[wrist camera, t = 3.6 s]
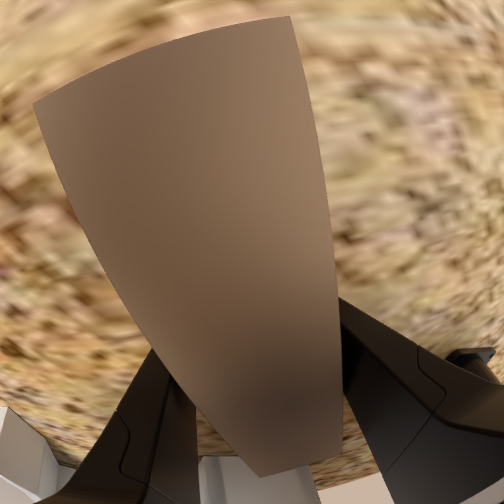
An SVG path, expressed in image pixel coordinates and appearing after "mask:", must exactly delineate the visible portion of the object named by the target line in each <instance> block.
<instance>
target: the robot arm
mask: <svg viewBox="0 0 504 504" xmlns="http://www.w3.org/2000/svg"><path fill="white" fill-rule="evenodd" d="M338 302H339V316H340V333H341V353H342V384H343V392H344V394H345V396H346V399H347V401H348V403H349V405H350V407H351V409H352V411H353V413H354V416H355V418H356V420H357V422H358V424H359V426H360V428H361V431H362V433H363V435H364V437H365V439H366V441H367V443H368V446H369V448H370V450H371V452H372V454H373V457H374V459H375V461H376V463H377V465H378V467H379V470H380V472H381V474H382V476H383V479H384V481H385V483H386V486H387V488H388V490H389V492H390V494H391V497H392V499H393V501H394V503H395V504H504V385H502V384H501V383H500V381H499V380H498V379H497V377H496V376H495V375H494V373H493V372H492V371H491V369H490V368H489V367H488V366H487V363H488V362H489V361H490V359H491V358H492V357H493V356H494V354H495V353H496V351H495V349H494V348H493V347H490V348H477V349H459V350H457V351H455V352H454V353H453V354H452V355H451V356H450V357H449V358H448V360H447V361H446V360H444V359H442V358H440V357H438V356H437V355H435V354H433V353H431V352H430V351H428V350H426V349H424V348H423V347H421V346H419V345H418V346H417V344H416V343H414V342H413V341H411V340H409V339H408V338H406V337H404V336H403V335H401V334H399V333H398V332H396V331H394V330H393V329H391V328H389V327H388V326H386V325H384V324H383V323H381V322H379V321H378V320H376V319H374V318H373V317H371V316H369V315H368V314H366V313H364V312H363V311H361V310H359V309H358V308H356V307H354V306H353V305H351V304H349V303H348V302H346V301H344V300H343V299H341V298H339V297H338ZM34 504H201V500H200V486H199V470H198V452H197V427H196V406H195V405H194V403H193V402H192V401H191V400H190V398H189V397H188V396H187V395H186V393H185V392H184V391H183V389H182V388H181V387H180V385H179V384H178V383H177V381H176V380H175V379H174V377H173V376H172V375H171V373H170V372H169V371H168V369H167V368H166V366H165V365H164V364H163V362H162V361H161V359H160V358H159V357H158V355H157V354H156V352H155V351H154V349H153V348H151V350H150V352H149V353H148V355H147V357H146V358H145V360H144V362H143V363H142V365H141V367H140V368H139V370H138V372H137V374H136V375H135V377H134V379H133V380H132V382H131V384H130V386H129V387H128V389H127V391H126V393H125V394H124V396H123V398H122V399H121V401H120V403H119V405H118V406H117V408H116V411H115V412H114V413H113V415H112V417H111V419H110V420H109V422H108V424H107V425H106V427H105V429H104V430H103V432H102V434H101V435H100V437H99V438H98V440H97V441H96V443H95V444H94V446H93V447H92V449H91V450H90V451H89V453H88V454H87V456H86V457H85V458H84V460H83V461H82V463H81V464H80V465H79V467H78V468H77V470H76V471H75V472H74V474H73V475H72V477H71V478H70V479H69V481H68V482H67V483H66V484H65V485H64V486H63V487H62V488H61V489H60V490H59V491H58V492H56V493H55V494H53V495H51V496H49V497H47V498H45V499H43V500H40V501H38V502H36V503H34Z"/></svg>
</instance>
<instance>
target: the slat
mask: <svg viewBox="0 0 504 504" xmlns="http://www.w3.org/2000/svg"><path fill="white" fill-rule="evenodd" d="M33 107H34V111H35V114H36V117H37V120H38V123H39V126H40V129H41V132H42V134H43V137H44V140H45V143H46V146H47V148H48V151H49V153H50V156H51V159H52V161H53V164H54V166H55V169H56V171H57V174H58V176H59V178H60V181H61V183H62V185H63V188H64V190H65V192H66V195H67V197H68V199H69V201H70V204H71V206H72V208H73V210H74V212H75V214H76V216H77V218H78V221H79V223H80V225H81V227H82V229H83V231H84V233H85V235H86V237H87V239H88V241H89V243H90V245H91V246H92V248H93V250H94V252H95V254H96V256H97V258H98V260H99V262H100V263H101V265H102V267H103V269H104V271H105V272H106V274H107V276H108V278H109V279H110V281H111V283H112V285H113V286H114V288H115V290H116V291H117V293H118V295H119V297H120V298H121V300H122V302H123V303H124V305H125V306H126V308H127V310H128V311H129V313H130V314H131V316H132V318H133V319H134V321H135V322H136V324H137V325H138V327H139V329H140V330H141V332H142V333H143V335H144V336H145V338H146V339H147V341H148V342H149V344H150V345H151V347H152V348H153V349H154V351H155V352H156V354H157V355H158V357H159V358H160V359H161V361H162V362H163V364H164V365H165V366H166V368H167V369H168V371H169V372H170V373H171V375H172V376H173V377H174V379H175V380H176V381H177V383H178V384H179V385H180V387H181V388H182V389H183V391H184V392H185V393H186V395H187V396H188V397H189V398H190V400H191V401H192V402H193V403H194V405H195V406H196V407H197V408H198V410H199V411H200V412H201V413H202V415H203V416H204V417H205V418H206V419H207V421H208V422H209V423H210V424H211V425H212V427H213V428H214V429H215V430H216V431H217V432H218V434H219V435H220V436H221V437H222V438H223V439H224V440H225V442H226V443H227V444H228V445H229V446H230V447H231V448H232V449H233V450H234V451H235V453H236V454H237V455H238V456H239V457H240V458H241V459H242V460H243V461H244V462H245V463H246V464H247V465H248V466H249V467H250V468H251V470H252V471H253V472H254V473H255V474H256V475H257V476H258V477H259V478H262V477H266V476H270V475H274V474H278V473H282V472H285V471H289V470H293V469H296V468H299V467H303V466H306V465H309V464H312V463H315V462H318V461H321V460H324V459H327V458H330V457H333V456H336V455H338V454H341V453H342V444H343V384H342V353H341V333H340V316H339V302H338V290H337V278H336V268H335V258H334V248H333V239H332V231H331V223H330V215H329V208H328V200H327V193H326V186H325V180H324V173H323V167H322V161H321V155H320V149H319V144H318V138H317V133H316V127H315V122H314V117H313V112H312V107H311V102H310V97H309V92H308V88H307V83H306V79H305V74H304V70H303V66H302V61H301V57H300V53H299V49H298V45H297V41H296V37H295V34H294V30H293V26H292V22H291V19H290V16H285V17H277V18H270V19H263V20H257V21H251V22H245V23H240V24H235V25H230V26H226V27H221V28H217V29H212V30H208V31H204V32H201V33H197V34H193V35H189V36H186V37H182V38H179V39H176V40H173V41H169V42H166V43H163V44H160V45H157V46H154V47H151V48H149V49H146V50H143V51H140V52H138V53H135V54H132V55H130V56H127V57H125V58H122V59H120V60H117V61H115V62H113V63H110V64H108V65H106V66H104V67H101V68H99V69H97V70H95V71H93V72H91V73H88V74H86V75H84V76H82V77H80V78H78V79H76V80H74V81H72V82H70V83H68V84H67V85H65V86H63V87H61V88H59V89H57V90H56V91H54V92H52V93H50V94H48V95H47V96H45V97H43V98H42V99H40V100H38V101H37V102H35V103H33Z"/></svg>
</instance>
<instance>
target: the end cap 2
mask: <svg viewBox="0 0 504 504" xmlns="http://www.w3.org/2000/svg"><path fill="white" fill-rule="evenodd" d="M198 470H199V486H200V500H201V504H321V501H320V498H319V496H318V492H317V489H316V486H315V483H314V480H313V477H312V474H311V471H310V468H309V465H306V466H303V467H299V468H296V469H293V470H289V471H285V472H282V473H278V474H274V475H270V476H266V477H262V478H259V477H258V476H257V475H256V474H255V473H254V472H253V471H252V470H251V468H250V467H249V466H248V465H247V464H246V463H245V462H244V461H243V460H242V459H241V458H240V457H239V456H203V458H202V459H201V461H200V463H199V464H198Z"/></svg>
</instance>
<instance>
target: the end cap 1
mask: <svg viewBox="0 0 504 504" xmlns="http://www.w3.org/2000/svg"><path fill="white" fill-rule="evenodd" d="M76 470H77V469H74V468H70V467H66V466H62V465H59V464H58V462H57V460H56V459H55V457H54V455H53V453H52V451H51V449H50V447H49V445H48V443H47V441H46V439H45V438H44V437H43V436H41V435H40V434H39V433H38V432H36V431H35V430H34V429H33V428H32V427H30V426H29V425H28V424H27V423H26V422H25V421H23V420H22V419H21V418H20V417H19V416H18V415H17V414H15V413H14V412H13V411H12V410H11V409H10V408H9V407H0V478H2V479H4V480H5V481H7V482H8V483H10V484H12V485H13V486H15V487H17V488H19V489H21V490H22V491H23V492H24V493H25V494H27V495H28V496H29V497H30V498H31V499H32V500H33V501H35V502H38V501H40V500H43V499H45V498H47V497H49V496H51V495H53V494H55V493H56V492H58V491H59V490H60V489H61V488H62V487H63V486H64V485H65V484H66V483H67V482H68V481H69V479H70V478H71V477H72V475H73V474H74V472H75V471H76Z"/></svg>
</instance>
